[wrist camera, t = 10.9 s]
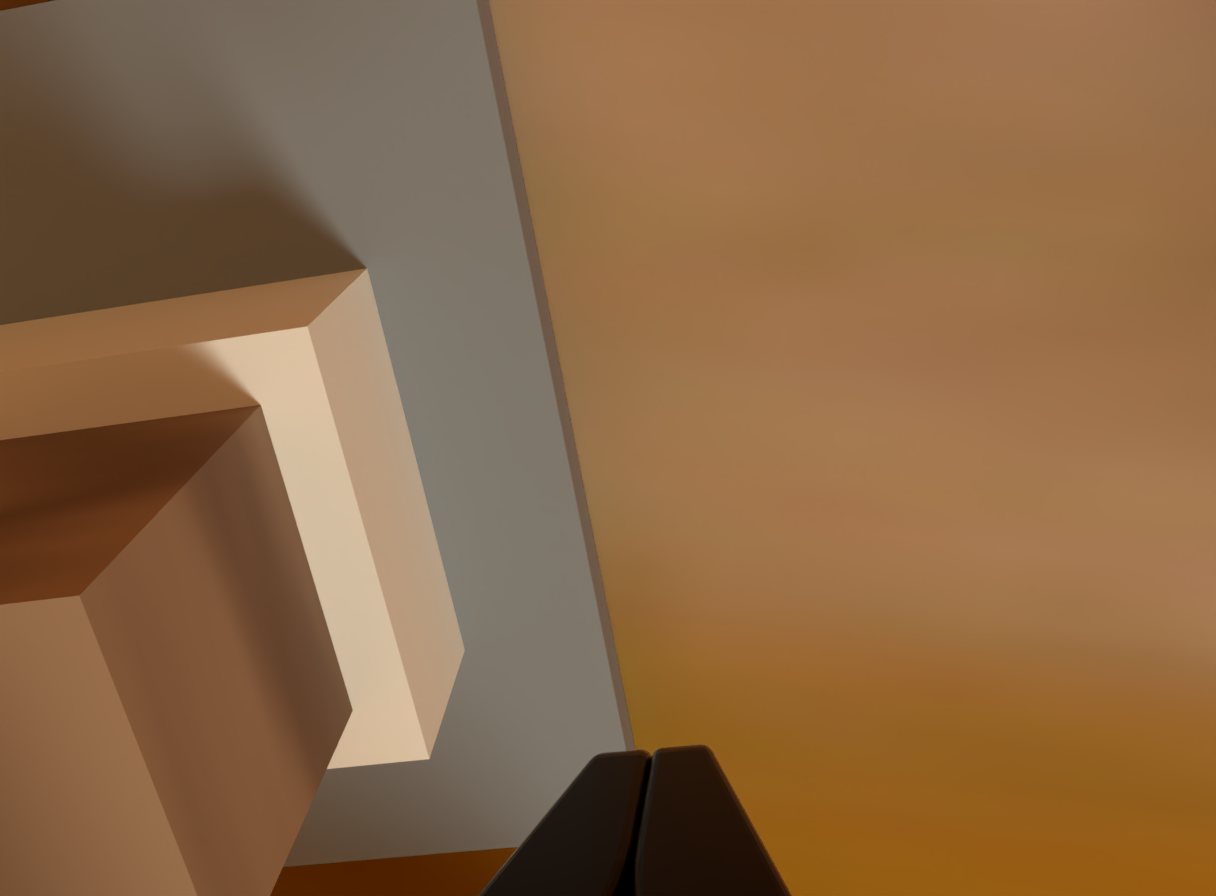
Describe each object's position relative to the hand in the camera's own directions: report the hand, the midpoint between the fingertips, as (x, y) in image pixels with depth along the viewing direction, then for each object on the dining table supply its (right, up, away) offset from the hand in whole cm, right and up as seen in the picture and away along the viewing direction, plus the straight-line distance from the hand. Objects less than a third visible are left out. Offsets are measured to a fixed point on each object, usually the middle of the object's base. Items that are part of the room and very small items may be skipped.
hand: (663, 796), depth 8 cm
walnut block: (-7, 0, +8) cm, 11 cm away
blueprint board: (-7, +2, +12) cm, 14 cm away
